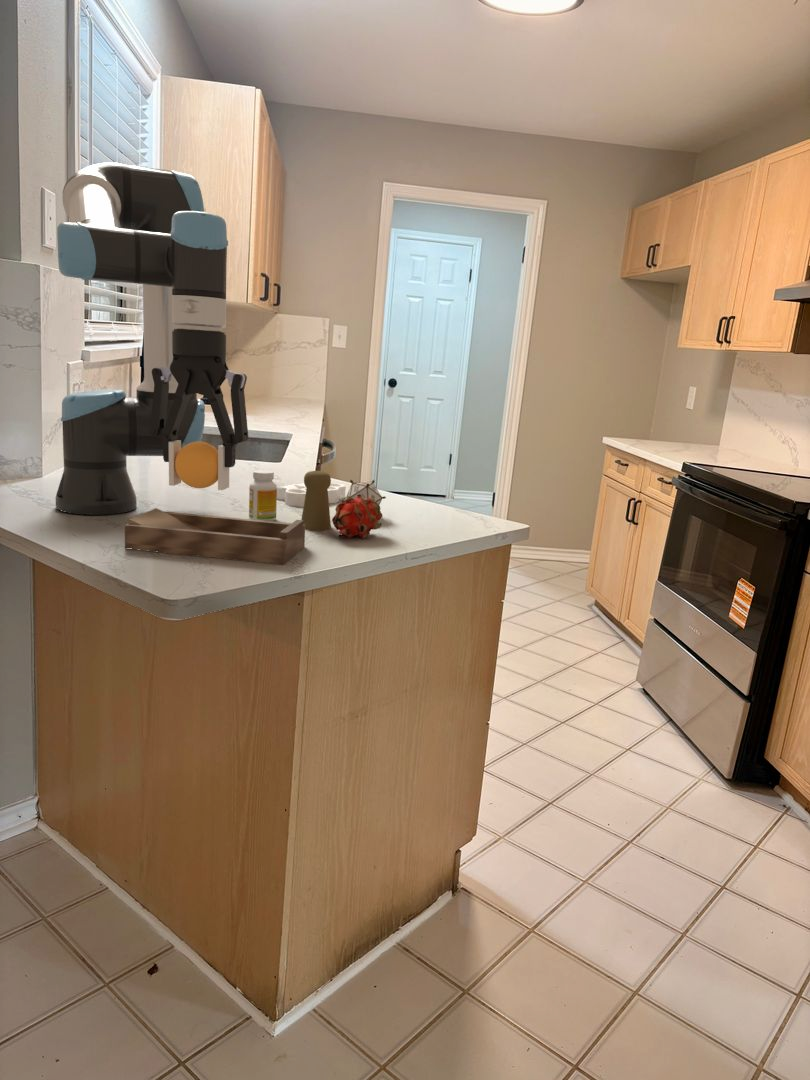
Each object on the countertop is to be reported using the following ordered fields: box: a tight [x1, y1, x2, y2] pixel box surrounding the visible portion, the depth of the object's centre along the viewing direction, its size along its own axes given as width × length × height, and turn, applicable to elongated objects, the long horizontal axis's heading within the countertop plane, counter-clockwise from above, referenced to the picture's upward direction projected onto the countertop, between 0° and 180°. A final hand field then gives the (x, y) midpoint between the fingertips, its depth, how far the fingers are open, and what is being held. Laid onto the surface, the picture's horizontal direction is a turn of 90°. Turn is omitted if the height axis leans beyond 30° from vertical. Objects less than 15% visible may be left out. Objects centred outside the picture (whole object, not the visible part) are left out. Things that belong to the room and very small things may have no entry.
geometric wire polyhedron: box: [340, 479, 387, 506], centre depth 161 cm, size 9×8×10 cm
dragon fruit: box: [331, 495, 383, 540], centre depth 145 cm, size 8×8×12 cm
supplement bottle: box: [248, 469, 278, 522], centre depth 153 cm, size 5×5×10 cm
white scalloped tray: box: [277, 482, 347, 508], centre depth 178 cm, size 3×18×15 cm
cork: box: [300, 470, 332, 532], centre depth 150 cm, size 6×6×11 cm
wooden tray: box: [124, 508, 306, 566], centre depth 131 cm, size 27×12×5 cm, turn 82°
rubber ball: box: [175, 440, 218, 489], centre depth 115 cm, size 7×7×7 cm
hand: (199, 486), depth 116 cm, fingers closed on rubber ball, 7 cm apart
